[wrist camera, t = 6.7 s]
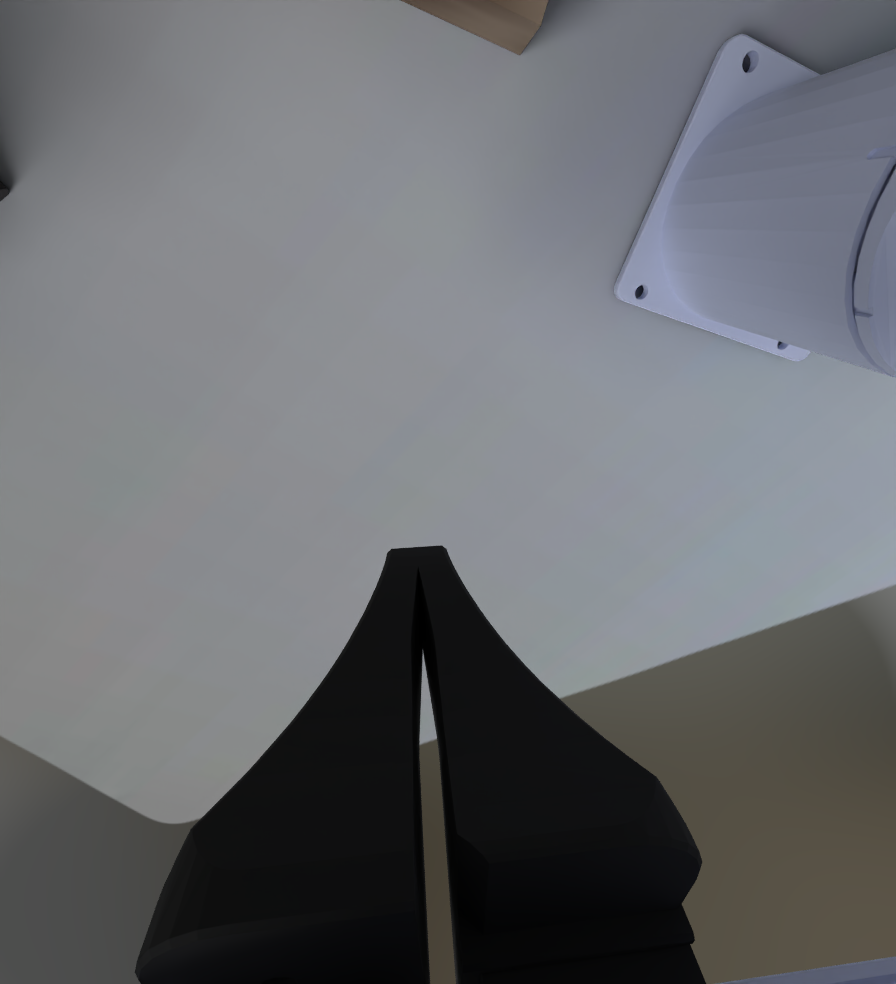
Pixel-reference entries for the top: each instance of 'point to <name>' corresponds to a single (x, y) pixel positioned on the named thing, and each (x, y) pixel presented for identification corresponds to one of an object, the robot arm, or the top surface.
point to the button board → (491, 18)
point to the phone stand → (3, 191)
